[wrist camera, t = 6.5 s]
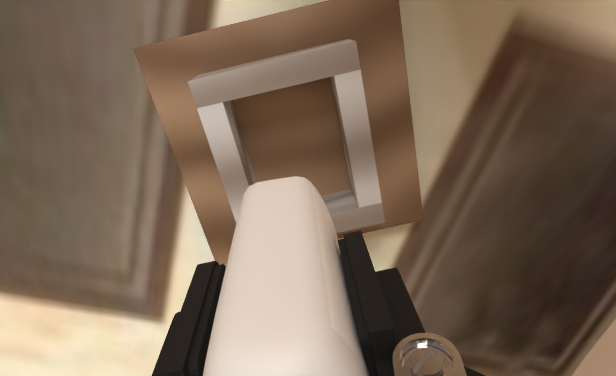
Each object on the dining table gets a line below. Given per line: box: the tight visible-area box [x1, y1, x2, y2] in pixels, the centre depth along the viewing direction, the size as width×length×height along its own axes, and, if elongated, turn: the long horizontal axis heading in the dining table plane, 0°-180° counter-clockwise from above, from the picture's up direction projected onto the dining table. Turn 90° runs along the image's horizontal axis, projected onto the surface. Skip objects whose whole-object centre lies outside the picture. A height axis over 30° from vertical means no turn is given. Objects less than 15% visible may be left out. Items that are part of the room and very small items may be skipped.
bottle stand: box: [133, 0, 423, 264], centre depth 25 cm, size 16×16×4 cm
